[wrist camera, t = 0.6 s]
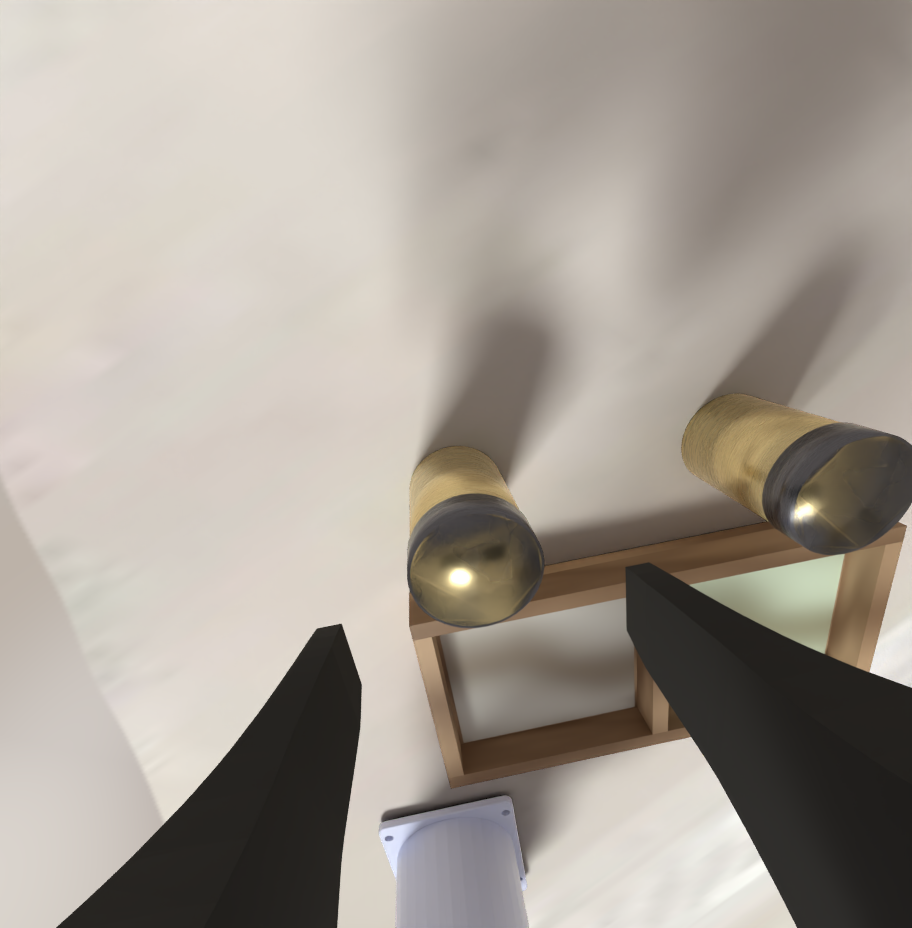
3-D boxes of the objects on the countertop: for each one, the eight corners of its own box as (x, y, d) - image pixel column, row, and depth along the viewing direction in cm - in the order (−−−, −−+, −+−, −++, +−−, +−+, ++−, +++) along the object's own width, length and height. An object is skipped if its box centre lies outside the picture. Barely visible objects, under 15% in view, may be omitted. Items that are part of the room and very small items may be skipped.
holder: (825, 666, 25) (862, 699, 23) (447, 747, 24) (450, 788, 22) (858, 503, 21) (906, 525, 19) (409, 592, 20) (409, 626, 18)
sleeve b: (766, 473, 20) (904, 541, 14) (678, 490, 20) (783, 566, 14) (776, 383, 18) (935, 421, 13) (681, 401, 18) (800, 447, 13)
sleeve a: (509, 523, 20) (549, 613, 14) (417, 540, 19) (421, 639, 14) (497, 435, 18) (537, 498, 12) (398, 454, 18) (393, 526, 12)
